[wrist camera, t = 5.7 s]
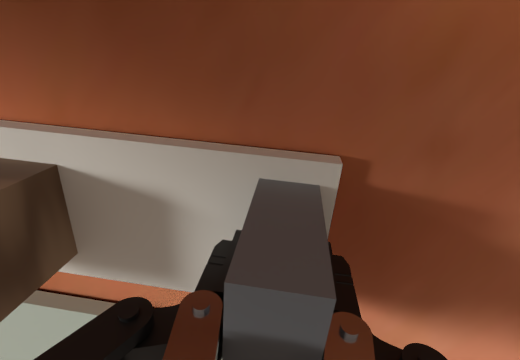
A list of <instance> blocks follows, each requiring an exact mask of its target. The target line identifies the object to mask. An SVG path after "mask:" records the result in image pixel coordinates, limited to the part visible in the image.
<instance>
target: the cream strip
mask: <svg viewBox="0 0 520 360" xmlns="http://www.w3.org/2000/svg"><path fill="white" fill-rule="evenodd" d="M0 158H6V159H15V160H23V161H31V162H40V163H48V164H56V165H57V167H58V172H59V176H60V180H61V184H62V188H63V193H64V197H65V201H66V205H67V209H68V214H69V218H70V222H71V226H72V230H73V235H74V239H75V243H76V247H77V251H78V254H77V255H75V256H74V257H73V258H72V259H71V260H70V261H69V262H68V263H66V264H65V265H64V266H63V267H62V268H61V269H60V270H59V272H65V273H72V274H78V275H85V276H91V277H97V278H104V279H110V280H116V281H123V282H129V283H136V284H142V285H148V286H155V287H161V288H167V289H174V290H180V291H187V292H194V291H195V289H196V286H197V284H198V282H199V280H200V278H201V275H202V273H203V271H204V269H205V266H206V264H207V262H208V260H209V258H210V256H211V253H212V251H213V249H214V246H216V245H217V244H218V243H219V242H220V241H222V240H230V241H232V240H233V237H234V234H235V232H236V230H242V231H241V234H240V237H239V240H238V243H237V246H236V249H235V252H234V255H233V258H232V261H231V264H230V267H229V270H228V273H227V276H226V279H225V282H224V312H223V353H222V360H322V356H323V352H324V348H325V344H326V340H327V336H328V332H329V328H330V324H331V320H332V315H333V311H334V307H335V303H336V293H335V287H334V280H333V273H332V266H331V259H330V253H329V246H328V235H329V230H330V225H331V220H332V215H333V210H334V205H335V200H336V195H337V190H338V186H339V181H340V176H341V171H342V166H343V164H342V161H341V159H340V156H332V155H323V154H314V153H304V152H295V151H286V150H276V149H267V148H258V147H248V146H239V145H230V144H221V143H211V142H202V141H193V140H183V139H174V138H165V137H155V136H146V135H137V134H127V133H118V132H109V131H100V130H90V129H81V128H72V127H62V126H53V125H44V124H34V123H25V122H16V121H6V120H0Z"/></svg>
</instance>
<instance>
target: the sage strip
mask: <svg viewBox="0 0 520 360" xmlns="http://www.w3.org/2000/svg"><path fill="white" fill-rule="evenodd" d="M114 304H116V303H111V302H105V301H99V300H93V299H86V298H80V297H74V296H68V295H62V294H56V293H50V292H44V291H38V290H36V291H35V292H34V293H33V294H32V295H30V296H29V297H28V298H27V299H26V300H25V301H24V302H23V303H21V304H20V305H19V306H18V307H17V308H16V309H15V310H14V311H12V312H11V313H10V314H9V315H8V316H7V317H6V318H5V319H4V320H2V321H1V322H0V360H33V359H35V358H36V357H38V356H39V355H41V354H42V353H44V352H45V351H47V350H48V349H50V348H51V347H53V346H54V345H56V344H57V343H58V342H60V341H61V340H63V339H64V338H66V337H67V336H69V335H70V334H72V333H73V332H75V331H76V330H78V329H79V328H81V327H82V326H83V325H85V324H86V323H88V322H89V321H91V320H92V319H94V318H95V317H97V316H98V315H100V314H101V313H103V312H104V311H106V310H107V309H108V308H110V307H111V306H113V305H114ZM221 360H222V359H221Z"/></svg>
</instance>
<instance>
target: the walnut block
mask: <svg viewBox="0 0 520 360" xmlns="http://www.w3.org/2000/svg"><path fill="white" fill-rule="evenodd" d="M77 254H78V251H77V247H76V243H75V239H74V235H73V230H72V226H71V222H70V218H69V214H68V209H67V205H66V201H65V197H64V193H63V188H62V184H61V180H60V176H59V172H58V167H57V165H56V164H48V163H40V162H31V161H23V160H15V159H6V158H0V322H1V321H2V320H4V319H5V318H6V317H7V316H8V315H9V314H10V313H11V312H12V311H14V310H15V309H16V308H17V307H18V306H19V305H20V304H21V303H23V302H24V301H25V300H26V299H27V298H28V297H29V296H30V295H32V294H33V293H34V292H35V291H36V290H37V289H38V288H39V287H41V286H42V285H43V284H44V283H45V282H46V281H47V280H48V279H50V278H51V277H52V276H53V275H54V274H55V273H56V272H57V271H59V270H60V269H61V268H62V267H63V266H64V265H65V264H66V263H68V262H69V261H70V260H71V259H72V258H73V257H74V256H75V255H77Z"/></svg>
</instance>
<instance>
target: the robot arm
mask: <svg viewBox="0 0 520 360" xmlns="http://www.w3.org/2000/svg"><path fill="white" fill-rule="evenodd" d="M241 231H242V230H236V232H235V234H234V237H233V240H232V241H230V240H222V241H220V242H219V243H218V244H217V245H216V246H214V249H213V251H212V253H211V256H210V258H209V260H208V262H207V264H206V266H205V269H204V271H203V273H202V275H201V278H200V280H199V282H198V284H197V286H196V289H195V291H194V292H192V293H190V294H188V295H187V296H186V297H185V298H184V299H183V300H182V301H181V303H180V304H178V305H175V306H170V307H163V308H154V309H153V307H152V304H151V303H150V302H149V301H148V300H147V299H145V298H141V297H131V298H126V299H124V300H121V301H119V302H118V303H116V304H114V305H113V306H111V307H110V308H108V309H107V310H106V311H104V312H103V313H101V314H100V315H98V316H97V317H95V318H94V319H92V320H91V321H89V322H88V323H86V324H85V325H83V326H82V327H81V328H79V329H78V330H76V331H75V332H73V333H72V334H70V335H69V336H67V337H66V338H64V339H63V340H61V341H60V342H58V343H57V344H56V345H54V346H53V347H51V348H50V349H48V350H47V351H45V352H44V353H42V354H41V355H39V356H38V357H36V358H35V359H33V360H221V359H222V353H223V312H224V282H225V279H226V276H227V273H228V270H229V267H230V264H231V261H232V258H233V255H234V252H235V249H236V246H237V243H238V240H239V237H240V234H241ZM328 246H329V253H330V259H331V266H332V273H333V280H334V287H335V293H336V303H335V307H334V311H333V315H332V320H331V324H330V328H329V332H328V336H327V340H326V344H325V348H324V352H323V356H322V360H447V359H446V358H445V357H444V356H443V355H442V354H441V353H439V352H438V351H436V350H435V349H433V348H431V347H429V346H427V345H424V344H419V343H412V344H408V345H407V346H405V347H404V349H403V350H402V349H399V348H397V347H395V346H393V345H390V344H388V343H386V342H384V341H382V340H380V339H379V338H377V337H376V336H374V335H373V334H372V332H371V330H370V328H369V326H368V325H367V324H366V323H365V322H364V321H363V320H362V318H361V315H360V310H359V306H358V302H357V297H356V293H355V289H354V286H353V280H352V277H351V271H350V267H349V265H348V263H347V262H346V261H345V259H344V258H343V257H342V256H337V255H332V250H331V244H330V242H328Z"/></svg>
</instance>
